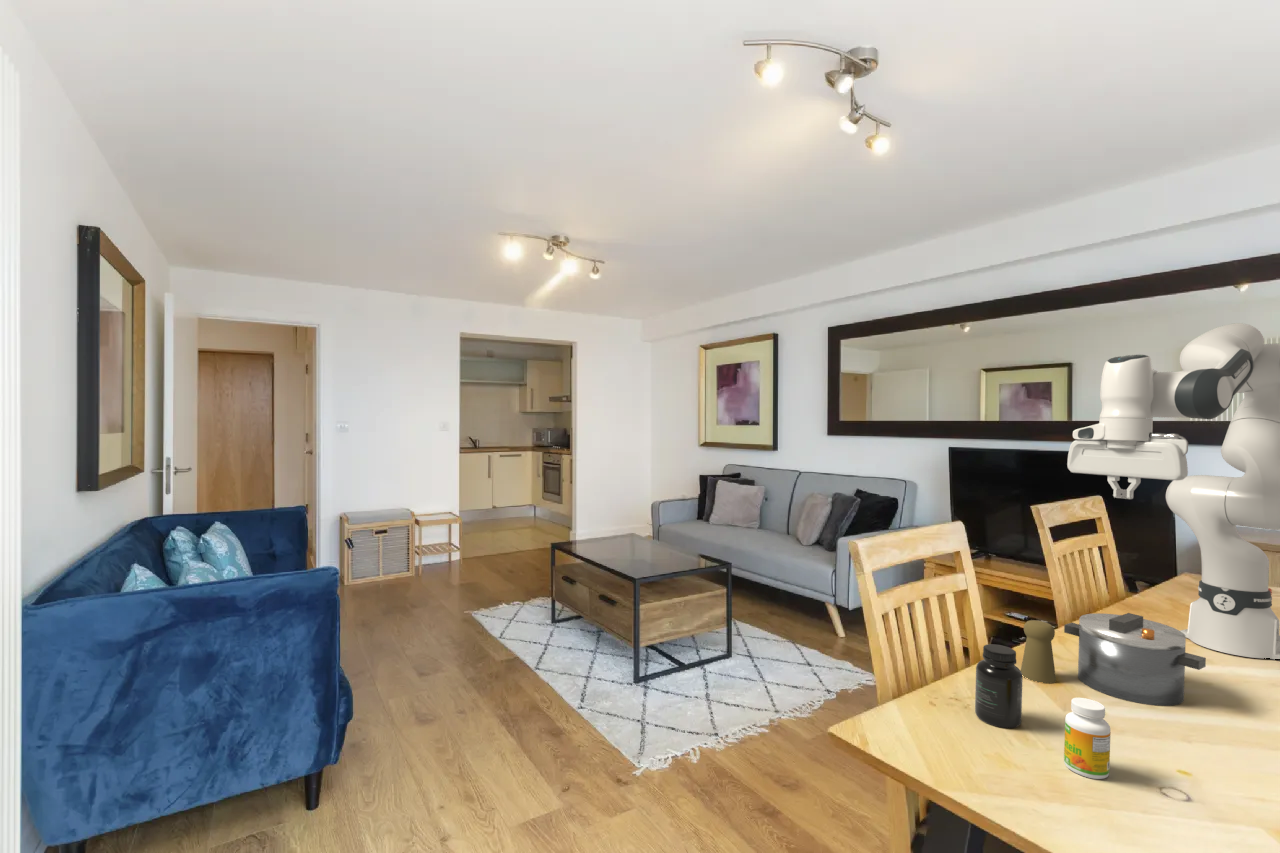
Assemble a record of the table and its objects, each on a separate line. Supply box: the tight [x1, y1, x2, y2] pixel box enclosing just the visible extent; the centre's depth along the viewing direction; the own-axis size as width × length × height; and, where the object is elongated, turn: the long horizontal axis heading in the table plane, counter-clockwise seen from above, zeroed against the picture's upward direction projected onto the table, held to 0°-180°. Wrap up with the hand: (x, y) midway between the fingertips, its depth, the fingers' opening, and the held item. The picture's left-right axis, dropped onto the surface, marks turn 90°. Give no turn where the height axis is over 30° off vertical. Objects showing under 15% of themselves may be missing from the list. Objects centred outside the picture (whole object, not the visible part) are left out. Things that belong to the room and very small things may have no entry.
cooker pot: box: [1063, 622, 1207, 707], centre depth 119 cm, size 16×22×10 cm
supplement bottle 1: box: [974, 643, 1024, 729], centre depth 105 cm, size 7×7×12 cm
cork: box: [1020, 619, 1057, 684], centre depth 123 cm, size 6×6×11 cm
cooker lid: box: [1078, 612, 1187, 650], centre depth 119 cm, size 16×16×4 cm
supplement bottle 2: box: [1063, 697, 1111, 780], centre depth 90 cm, size 5×5×10 cm
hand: (1123, 498), depth 130 cm, fingers closed
